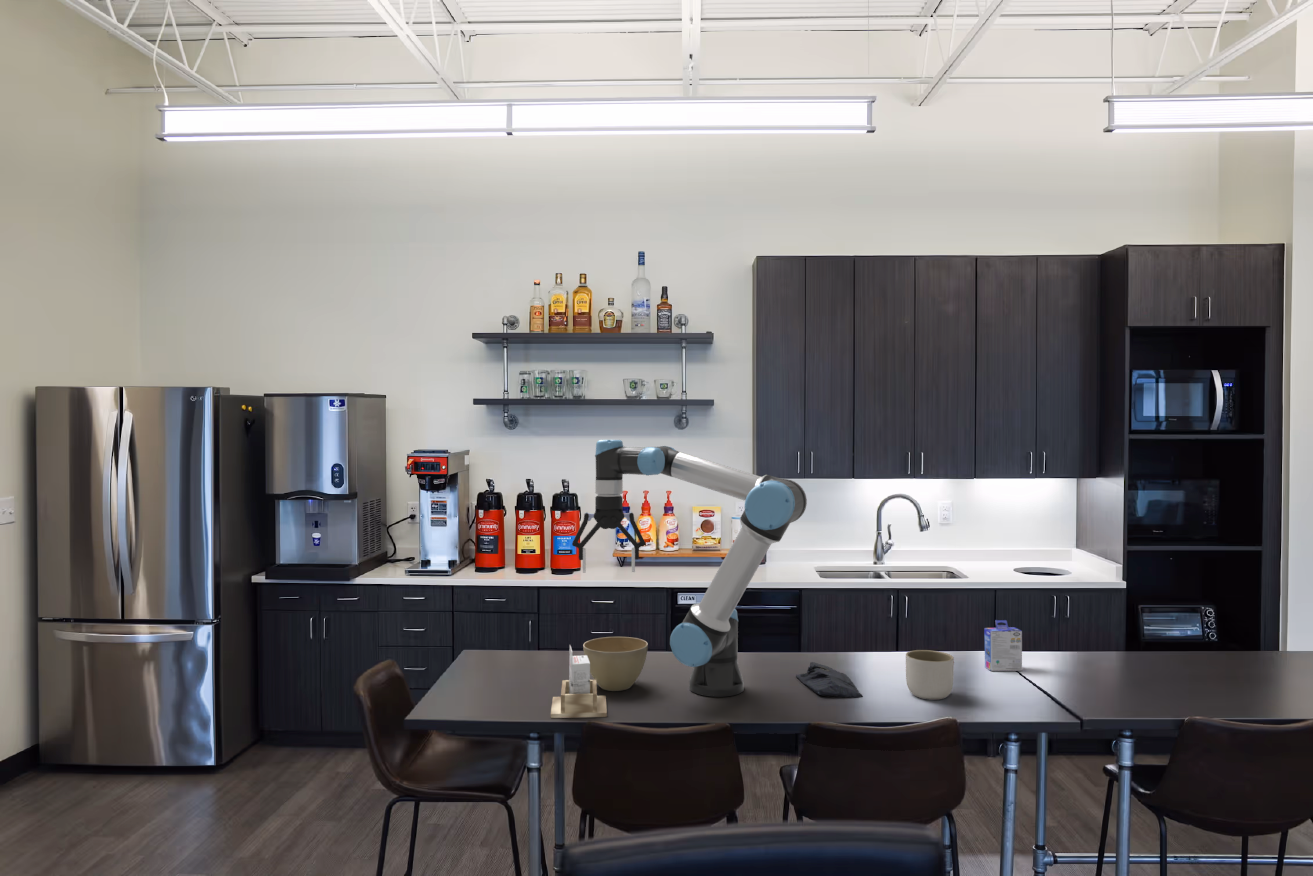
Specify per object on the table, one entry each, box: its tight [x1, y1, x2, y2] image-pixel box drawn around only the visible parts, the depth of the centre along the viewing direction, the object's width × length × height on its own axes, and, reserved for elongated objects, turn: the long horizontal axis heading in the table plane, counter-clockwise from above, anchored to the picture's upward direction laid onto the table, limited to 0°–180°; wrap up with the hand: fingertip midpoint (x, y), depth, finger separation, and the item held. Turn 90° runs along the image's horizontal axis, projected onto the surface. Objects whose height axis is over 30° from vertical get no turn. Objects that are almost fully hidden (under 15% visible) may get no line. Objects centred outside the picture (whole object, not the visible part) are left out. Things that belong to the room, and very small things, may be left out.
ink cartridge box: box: [983, 619, 1023, 672], centre depth 258 cm, size 10×6×14 cm, turn 92°
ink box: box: [568, 645, 591, 694], centre depth 220 cm, size 8×5×15 cm, turn 11°
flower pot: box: [582, 636, 649, 692], centre depth 239 cm, size 18×18×12 cm
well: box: [550, 679, 608, 719], centre depth 220 cm, size 14×14×6 cm
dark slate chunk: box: [795, 661, 864, 699], centre depth 240 cm, size 15×22×5 cm
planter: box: [905, 649, 955, 701], centre depth 232 cm, size 12×12×11 cm
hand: (608, 571), depth 237 cm, fingers open, 13 cm apart
